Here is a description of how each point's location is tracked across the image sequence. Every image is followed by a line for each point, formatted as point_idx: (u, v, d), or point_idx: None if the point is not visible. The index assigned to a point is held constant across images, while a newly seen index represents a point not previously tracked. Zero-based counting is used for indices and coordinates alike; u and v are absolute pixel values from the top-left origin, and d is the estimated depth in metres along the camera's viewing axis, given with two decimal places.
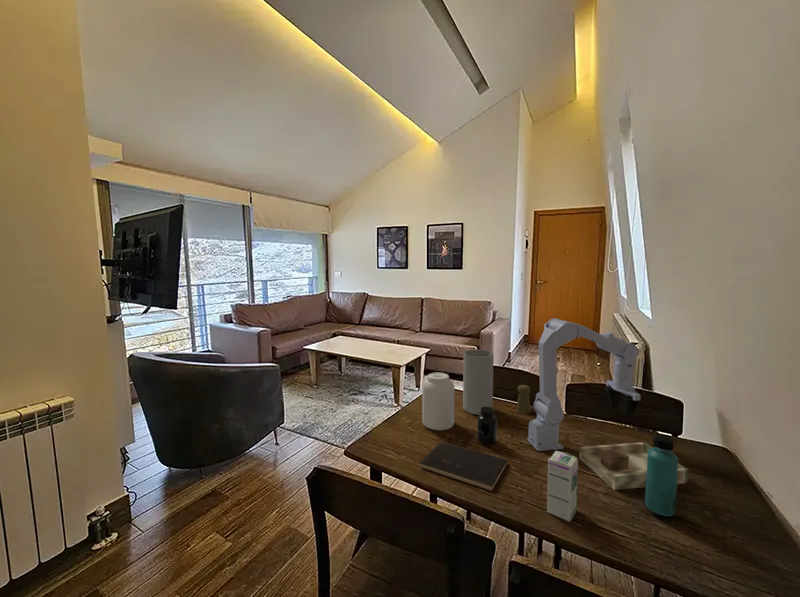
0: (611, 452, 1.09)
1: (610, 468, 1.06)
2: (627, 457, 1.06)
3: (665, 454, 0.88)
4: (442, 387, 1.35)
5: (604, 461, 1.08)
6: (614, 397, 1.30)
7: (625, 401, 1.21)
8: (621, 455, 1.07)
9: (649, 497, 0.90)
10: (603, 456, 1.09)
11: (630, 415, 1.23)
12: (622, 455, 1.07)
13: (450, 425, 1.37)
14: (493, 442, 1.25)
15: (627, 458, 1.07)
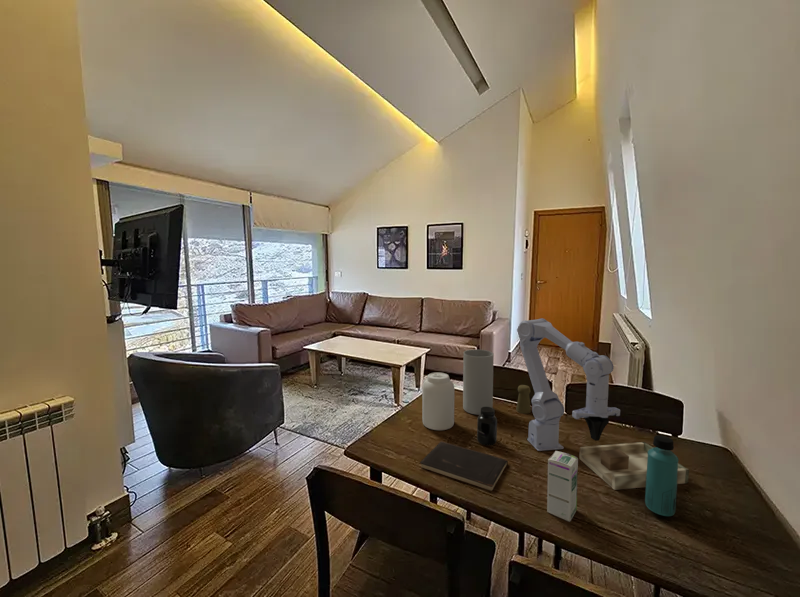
0: (611, 452, 1.09)
1: (610, 468, 1.06)
2: (627, 457, 1.06)
3: (665, 454, 0.88)
4: (442, 387, 1.34)
5: (604, 461, 1.08)
6: None
7: None
8: (621, 455, 1.07)
9: (649, 497, 0.90)
10: (603, 456, 1.09)
11: (593, 436, 1.09)
12: (622, 455, 1.07)
13: (450, 425, 1.37)
14: (493, 442, 1.25)
15: (627, 458, 1.07)
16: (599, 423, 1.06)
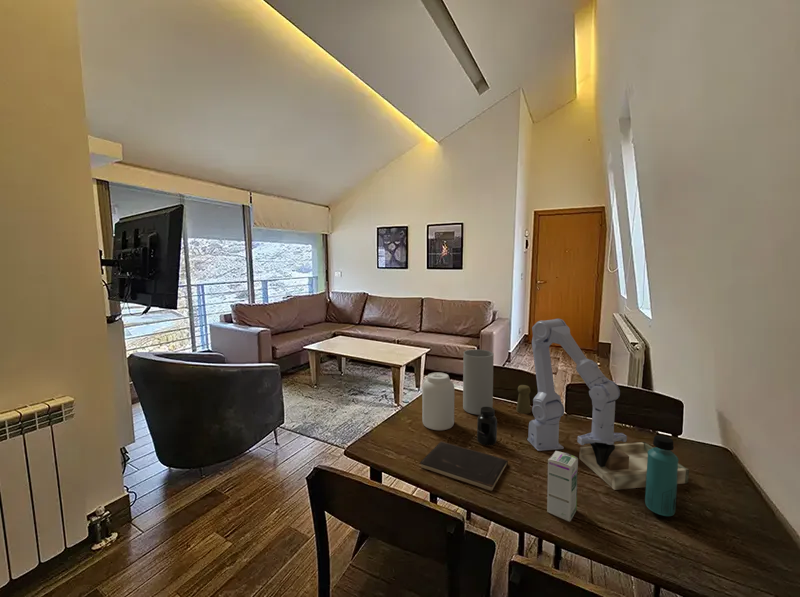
0: None
1: (610, 468, 1.06)
2: (627, 457, 1.07)
3: (665, 454, 0.88)
4: (442, 387, 1.34)
5: None
6: None
7: None
8: (622, 455, 1.07)
9: (649, 497, 0.90)
10: None
11: (598, 462, 1.08)
12: (622, 455, 1.07)
13: (450, 425, 1.37)
14: (493, 442, 1.25)
15: (627, 458, 1.07)
16: (605, 449, 1.05)
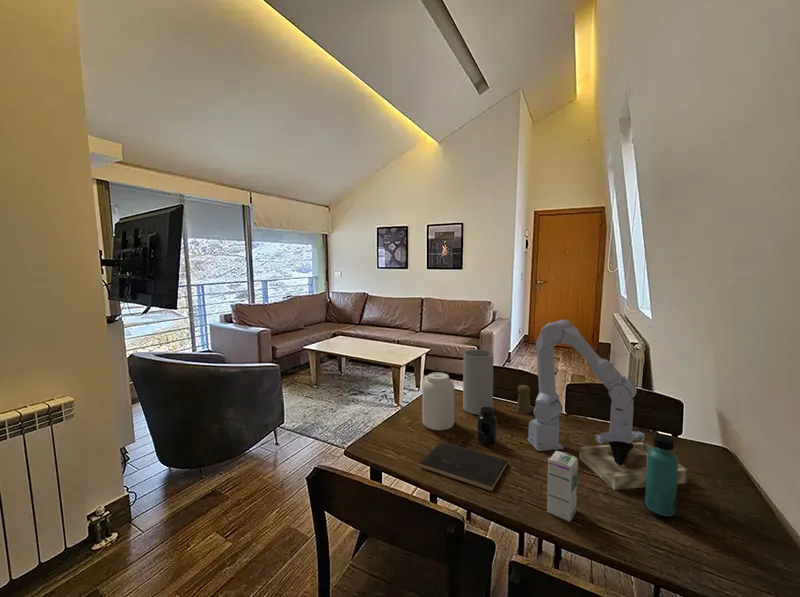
0: None
1: (628, 466, 1.07)
2: (645, 455, 1.07)
3: (665, 454, 0.88)
4: (442, 387, 1.35)
5: None
6: None
7: None
8: (640, 453, 1.08)
9: (649, 497, 0.90)
10: None
11: (616, 460, 1.08)
12: (640, 453, 1.08)
13: (450, 425, 1.37)
14: (493, 442, 1.25)
15: (645, 456, 1.07)
16: (624, 448, 1.05)
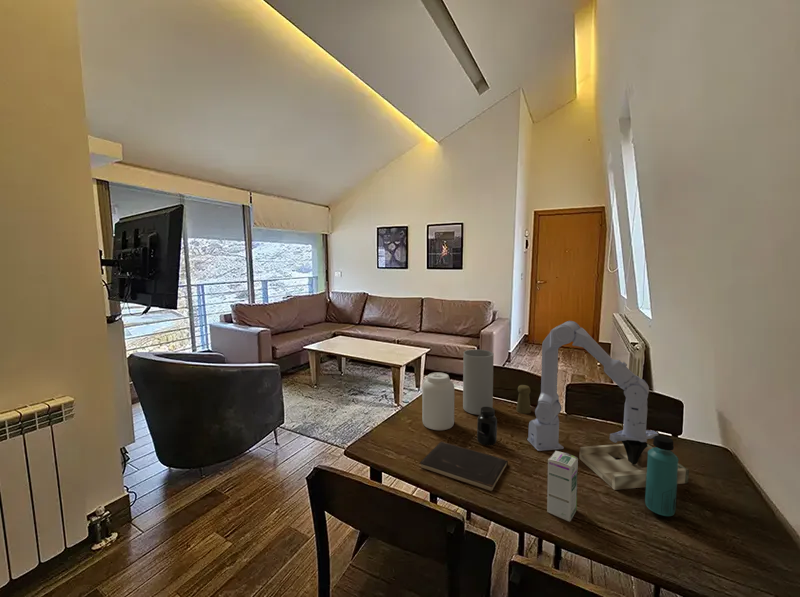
0: None
1: (642, 465, 1.08)
2: None
3: (665, 454, 0.88)
4: (442, 387, 1.35)
5: None
6: None
7: None
8: None
9: (649, 497, 0.90)
10: None
11: (630, 459, 1.09)
12: None
13: (450, 425, 1.37)
14: (493, 442, 1.25)
15: None
16: (638, 447, 1.06)
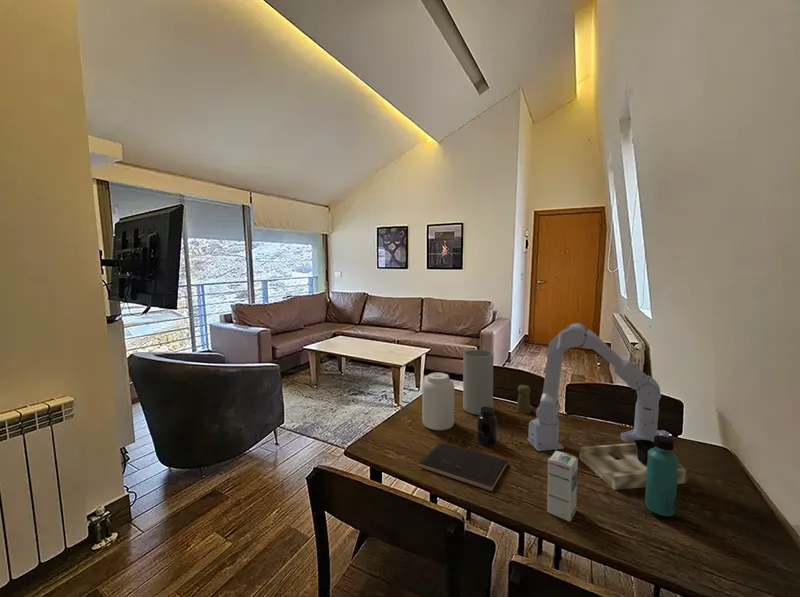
0: None
1: None
2: None
3: (665, 454, 0.88)
4: (442, 387, 1.35)
5: None
6: (641, 449, 1.09)
7: None
8: None
9: (649, 497, 0.90)
10: None
11: None
12: None
13: (450, 425, 1.37)
14: (493, 442, 1.25)
15: None
16: (650, 446, 1.06)
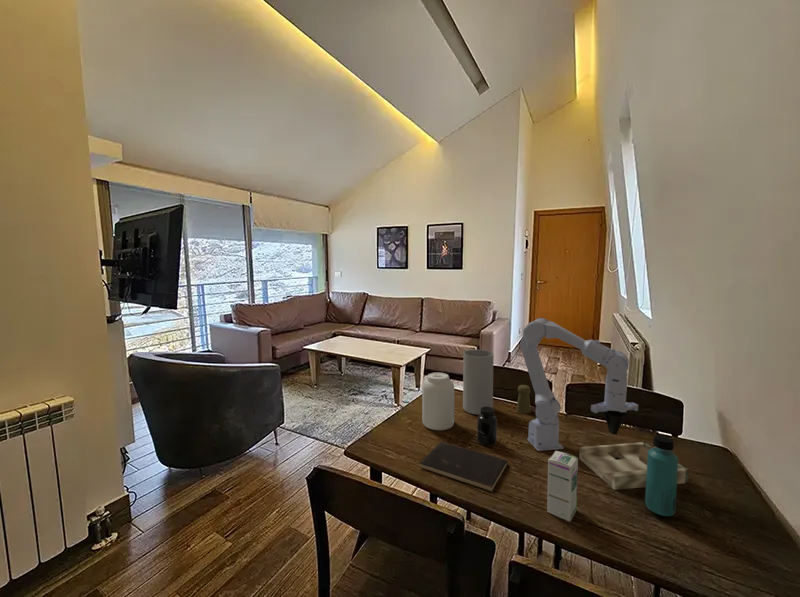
0: None
1: None
2: None
3: (665, 454, 0.88)
4: (442, 387, 1.35)
5: (643, 458, 1.10)
6: None
7: None
8: None
9: (649, 497, 0.90)
10: (642, 453, 1.10)
11: (610, 430, 1.13)
12: None
13: (450, 425, 1.37)
14: (493, 442, 1.25)
15: None
16: (617, 417, 1.10)
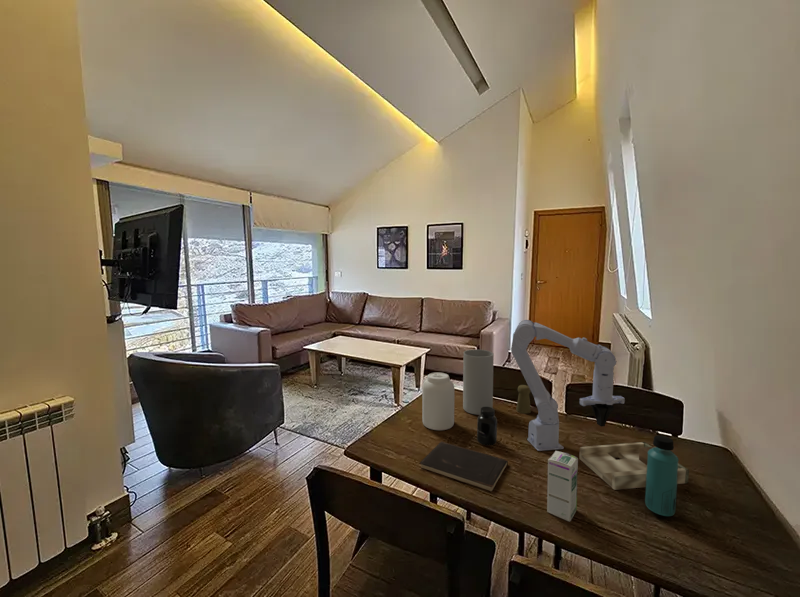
0: None
1: None
2: None
3: (665, 454, 0.88)
4: (442, 387, 1.34)
5: (643, 458, 1.10)
6: None
7: None
8: None
9: (649, 497, 0.90)
10: (642, 453, 1.10)
11: (598, 422, 1.18)
12: None
13: (450, 425, 1.37)
14: (493, 442, 1.25)
15: None
16: (605, 410, 1.15)
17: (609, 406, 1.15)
